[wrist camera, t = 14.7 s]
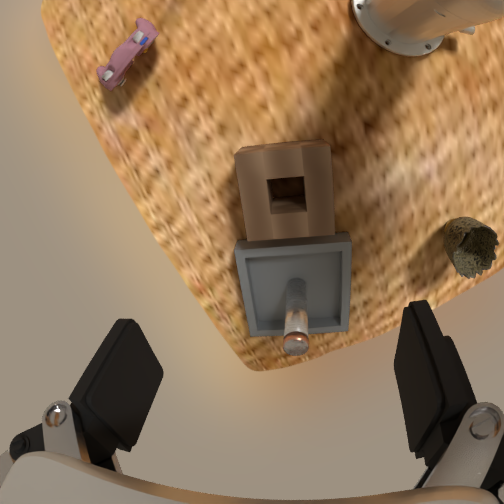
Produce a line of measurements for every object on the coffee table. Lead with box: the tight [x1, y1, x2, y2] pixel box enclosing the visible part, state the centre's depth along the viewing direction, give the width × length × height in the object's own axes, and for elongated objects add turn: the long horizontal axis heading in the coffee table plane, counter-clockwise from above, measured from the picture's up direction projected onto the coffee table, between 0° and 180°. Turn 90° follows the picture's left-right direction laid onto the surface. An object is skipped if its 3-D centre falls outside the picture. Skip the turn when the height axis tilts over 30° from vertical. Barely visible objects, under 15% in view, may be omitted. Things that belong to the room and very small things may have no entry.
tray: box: [234, 232, 352, 337], centre depth 43 cm, size 15×15×3 cm
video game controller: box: [97, 18, 159, 91], centre depth 29 cm, size 10×5×7 cm, turn 134°
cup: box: [444, 217, 499, 279], centre depth 34 cm, size 8×7×8 cm
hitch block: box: [234, 139, 335, 241], centre depth 35 cm, size 10×10×6 cm
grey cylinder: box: [283, 278, 309, 356], centre depth 38 cm, size 3×3×12 cm
